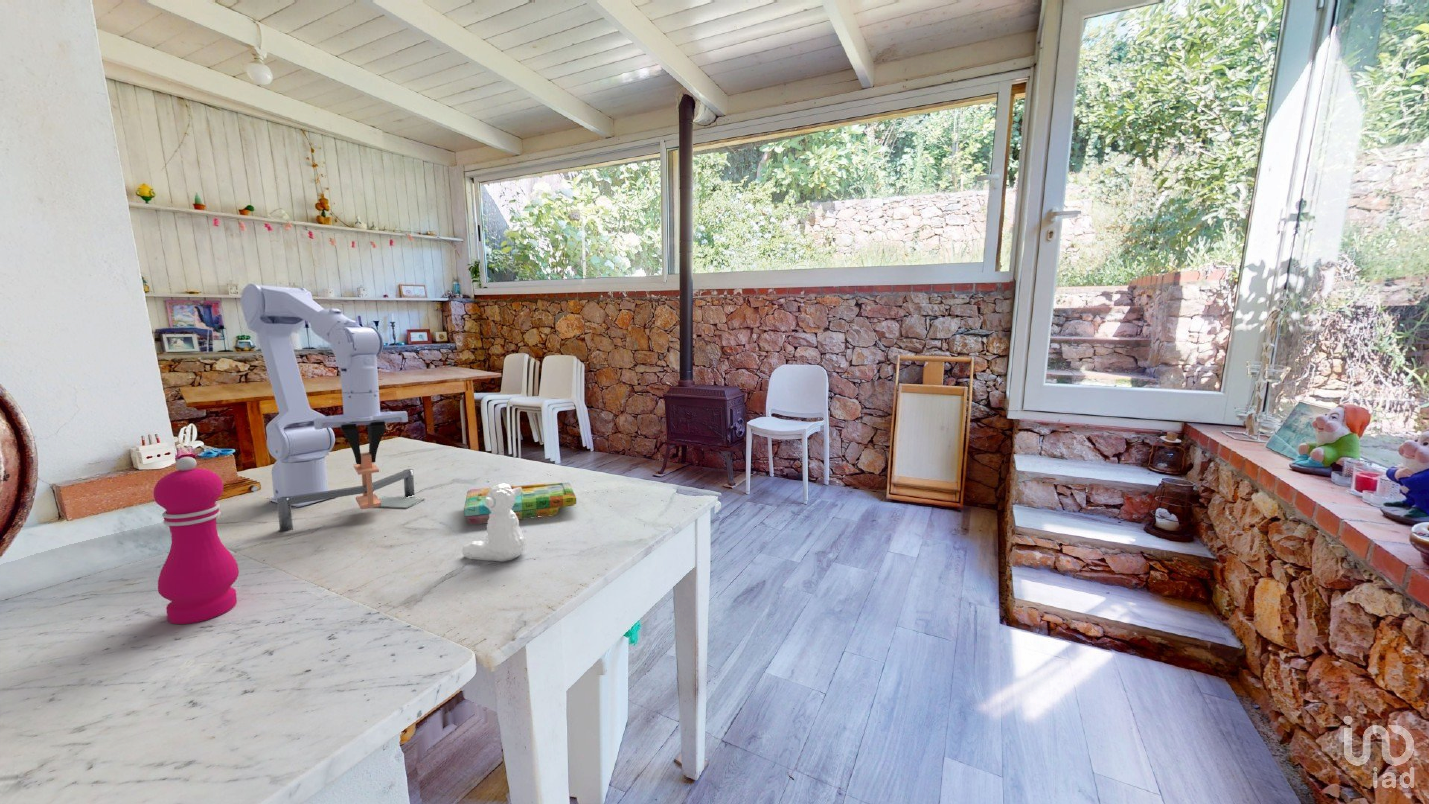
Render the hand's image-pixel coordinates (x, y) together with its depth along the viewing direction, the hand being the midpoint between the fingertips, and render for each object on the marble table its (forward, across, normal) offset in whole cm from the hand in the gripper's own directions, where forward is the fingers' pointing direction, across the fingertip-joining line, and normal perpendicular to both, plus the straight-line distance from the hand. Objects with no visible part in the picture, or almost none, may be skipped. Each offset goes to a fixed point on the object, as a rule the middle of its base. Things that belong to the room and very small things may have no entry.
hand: (365, 462), depth 98 cm
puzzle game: (+11, +24, -16) cm, 30 cm away
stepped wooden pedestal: (+8, 0, 0) cm, 8 cm away
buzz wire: (+10, -1, +3) cm, 11 cm away
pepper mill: (+11, -21, -28) cm, 36 cm away
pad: (+10, +5, +5) cm, 13 cm away
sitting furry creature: (+11, +14, -34) cm, 38 cm away
